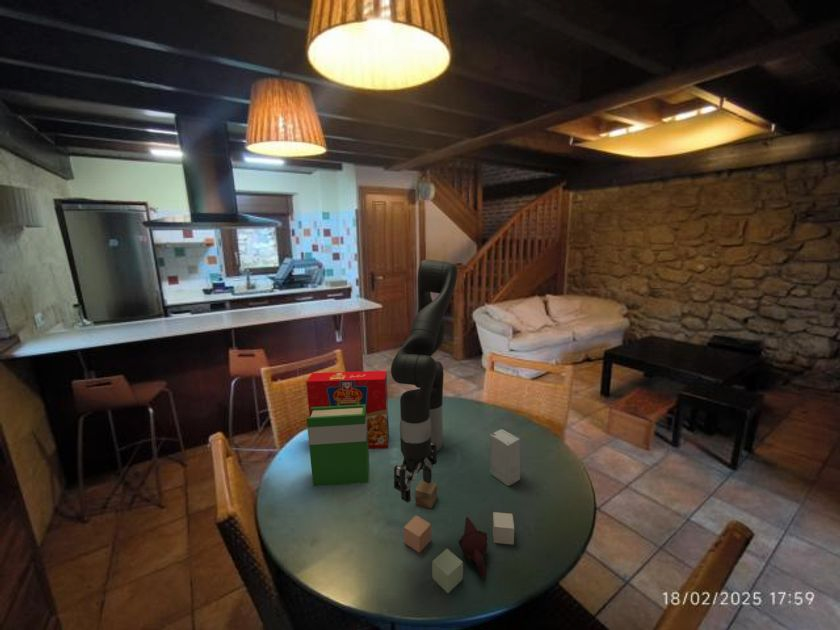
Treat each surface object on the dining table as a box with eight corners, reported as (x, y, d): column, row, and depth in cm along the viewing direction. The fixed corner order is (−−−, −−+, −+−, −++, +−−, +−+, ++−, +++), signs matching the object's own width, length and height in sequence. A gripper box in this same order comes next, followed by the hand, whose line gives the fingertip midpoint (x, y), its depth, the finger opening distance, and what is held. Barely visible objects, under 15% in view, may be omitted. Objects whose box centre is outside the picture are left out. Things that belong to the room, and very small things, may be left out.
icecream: (450, 511, 96) (462, 566, 82) (477, 503, 96) (494, 556, 82) (456, 530, 98) (469, 586, 84) (482, 522, 99) (499, 577, 84)
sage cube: (432, 578, 85) (432, 561, 84) (447, 565, 88) (447, 548, 87) (447, 593, 81) (447, 575, 80) (462, 579, 84) (462, 561, 83)
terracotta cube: (404, 543, 94) (403, 527, 93) (416, 530, 98) (415, 515, 97) (419, 553, 91) (419, 536, 90) (431, 540, 95) (430, 524, 94)
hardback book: (313, 486, 116) (306, 418, 110) (317, 471, 123) (311, 407, 118) (368, 482, 117) (364, 415, 112) (369, 467, 125) (365, 404, 119)
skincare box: (520, 480, 117) (522, 439, 114) (507, 487, 114) (508, 445, 110) (501, 466, 124) (502, 427, 120) (488, 473, 121) (489, 433, 117)
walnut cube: (415, 504, 108) (415, 489, 106) (421, 493, 112) (421, 479, 111) (431, 509, 106) (430, 494, 105) (436, 497, 110) (436, 483, 109)
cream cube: (493, 542, 94) (494, 526, 93) (492, 527, 99) (493, 512, 98) (513, 544, 93) (514, 528, 92) (511, 529, 98) (512, 513, 97)
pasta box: (312, 451, 135) (306, 381, 128) (318, 439, 142) (312, 372, 136) (388, 448, 135) (385, 379, 129) (389, 436, 143) (386, 370, 137)
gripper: (421, 416, 95) (422, 470, 99) (384, 441, 84) (386, 501, 88) (444, 425, 91) (445, 481, 94) (408, 452, 80) (410, 515, 83)
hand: (417, 491), depth 91 cm, fingers open, 8 cm apart
